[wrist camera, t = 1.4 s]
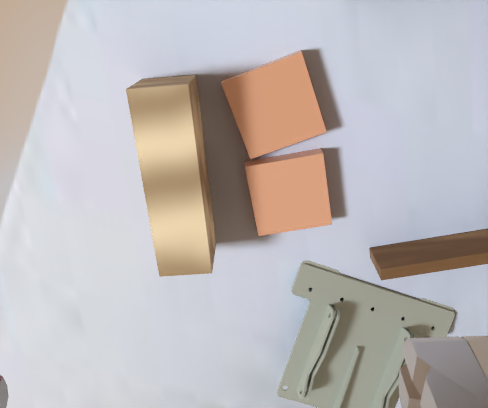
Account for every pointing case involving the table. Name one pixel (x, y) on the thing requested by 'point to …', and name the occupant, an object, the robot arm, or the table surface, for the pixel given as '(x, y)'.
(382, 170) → the table surface
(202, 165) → the bar
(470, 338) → the robot arm
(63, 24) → the table surface
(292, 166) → the tile
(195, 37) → the table surface
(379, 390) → the metal bracket
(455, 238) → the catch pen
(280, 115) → the tile
